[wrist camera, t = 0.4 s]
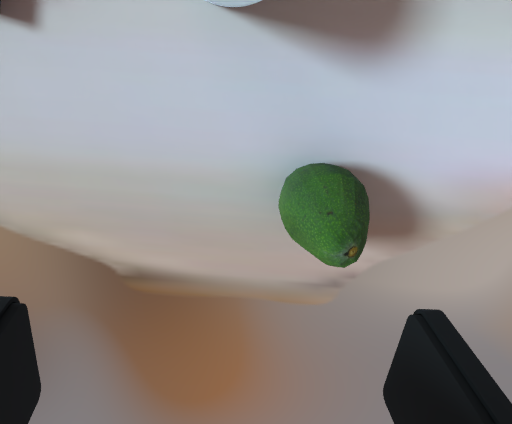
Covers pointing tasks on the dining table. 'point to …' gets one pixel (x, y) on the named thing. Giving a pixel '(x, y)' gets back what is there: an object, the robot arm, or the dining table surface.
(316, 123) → the dining table surface
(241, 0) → the light blue cylinder
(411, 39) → the dining table surface
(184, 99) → the dining table surface
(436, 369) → the robot arm
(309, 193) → the avocado
